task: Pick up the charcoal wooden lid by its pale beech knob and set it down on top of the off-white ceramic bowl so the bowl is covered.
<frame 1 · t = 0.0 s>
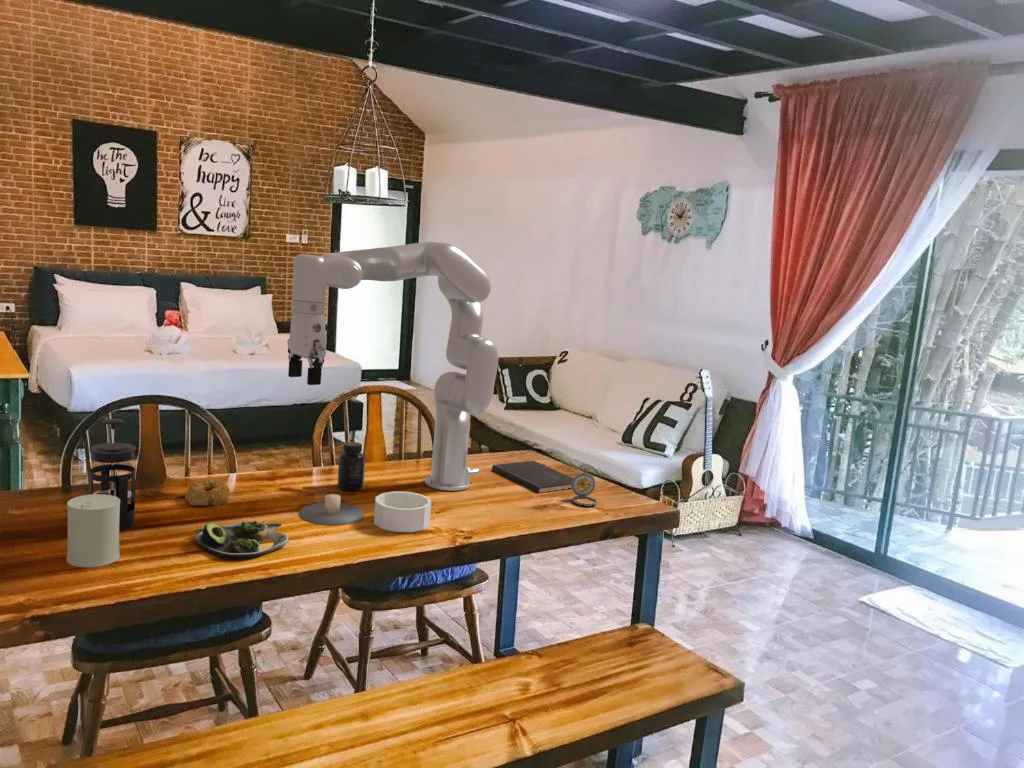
hand: (304, 380, 192), 31 cm above the table, fingers open, 9 cm apart
salad plate: (239, 546, 172), on the table
can: (93, 559, 158), on the table
pocket watch: (583, 502, 223), on the table
hardcover book: (535, 481, 241), on the table
supplement bottle: (350, 488, 216), on the table
lid: (331, 515, 195), on the table
bagel: (207, 501, 196), on the table
bowl: (401, 522, 194), on the table
french press: (112, 524, 176), on the table
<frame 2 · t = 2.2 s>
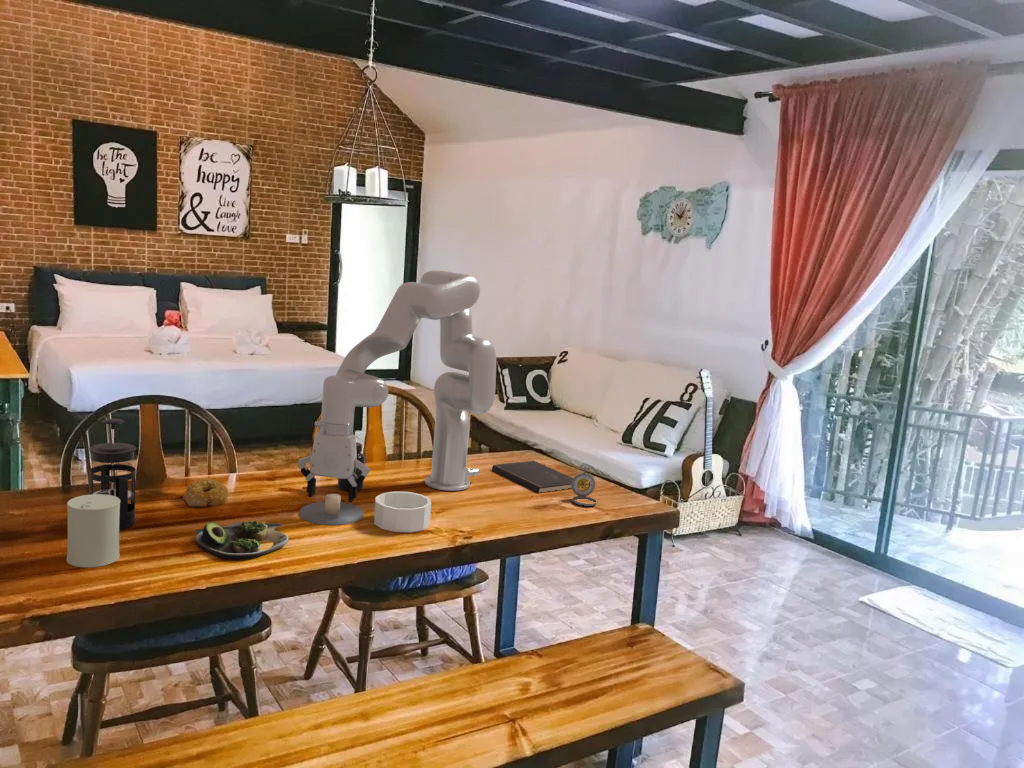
hand: (331, 498, 194), 4 cm above the table, fingers open, 9 cm apart
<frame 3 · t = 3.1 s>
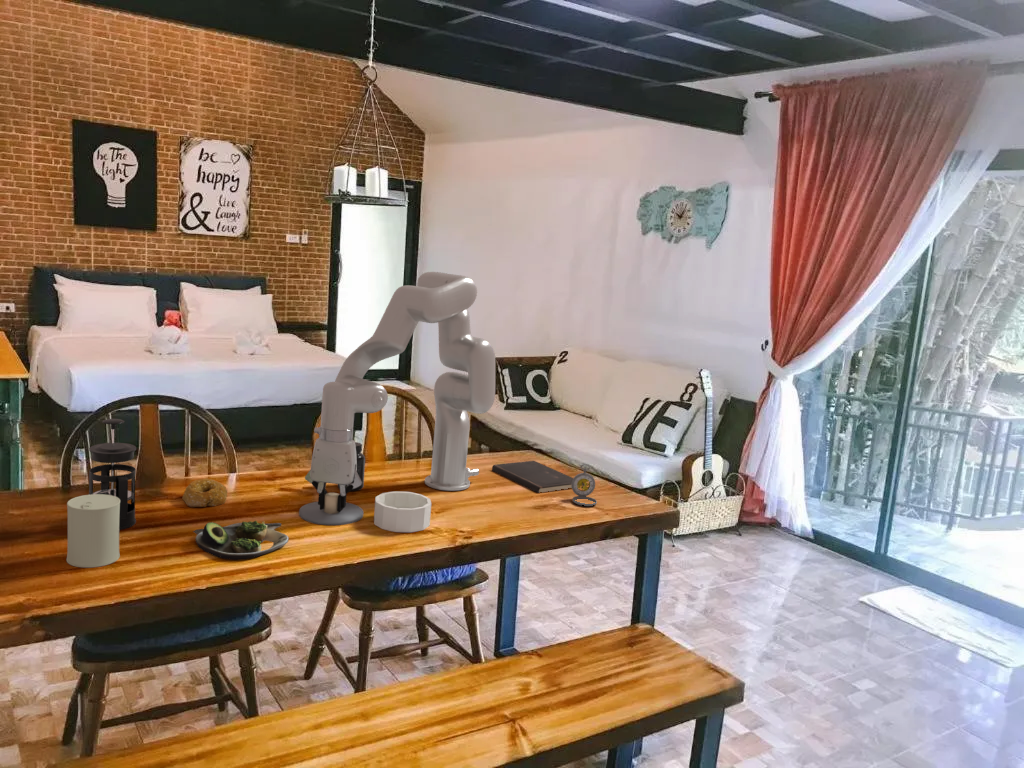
hand: (331, 508, 194), 1 cm above the table, fingers closed on lid, 3 cm apart
lid: (331, 514, 195), on the table, touching gripper
everything else where it was.
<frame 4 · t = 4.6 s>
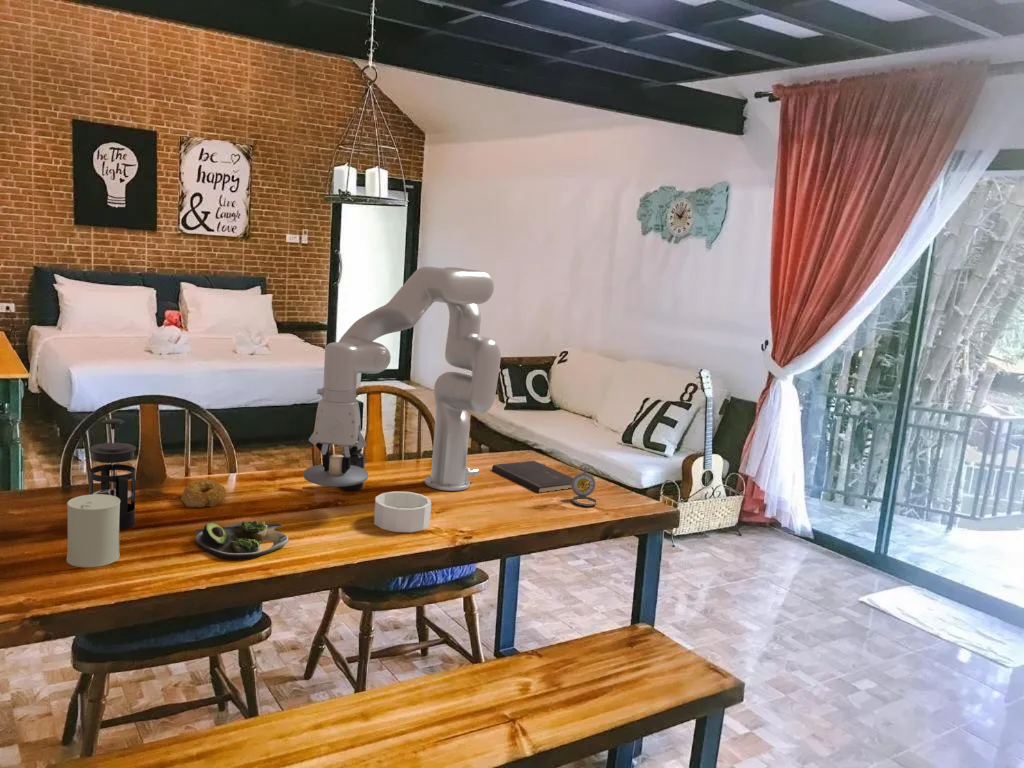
hand: (336, 470, 193), 11 cm above the table, fingers closed on lid, 3 cm apart
lid: (336, 476, 193), point 9 cm above the table, touching gripper
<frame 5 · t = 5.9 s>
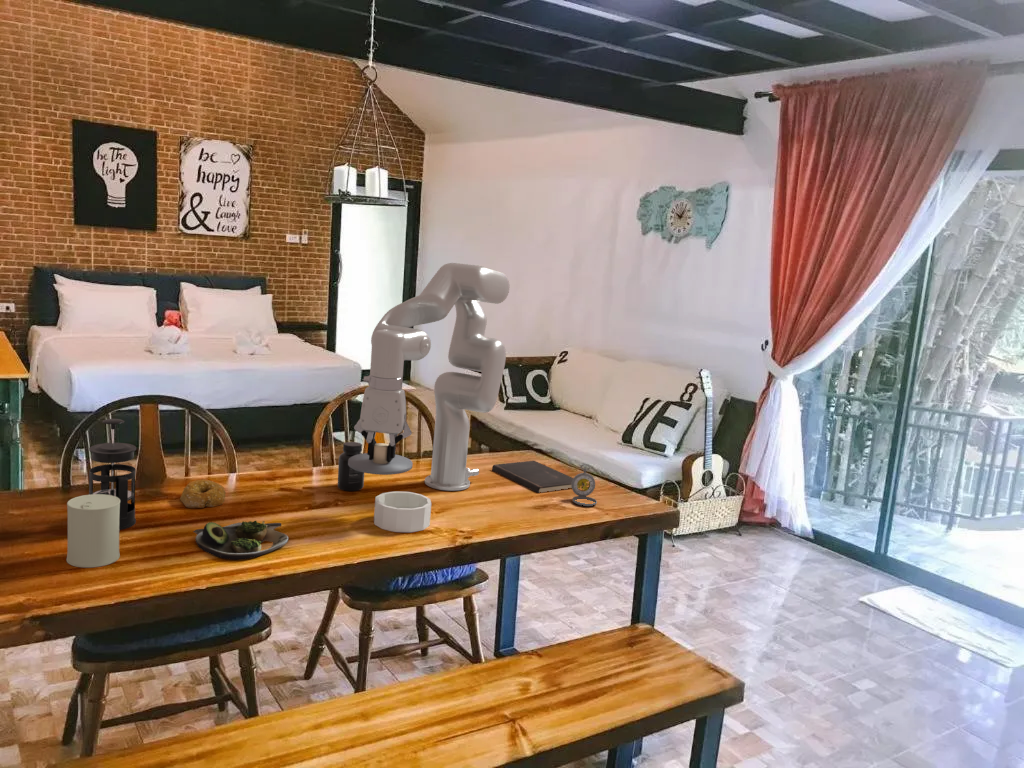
hand: (381, 458, 192), 15 cm above the table, fingers closed on lid, 3 cm apart
lid: (380, 464, 192), point 13 cm above the table, touching gripper
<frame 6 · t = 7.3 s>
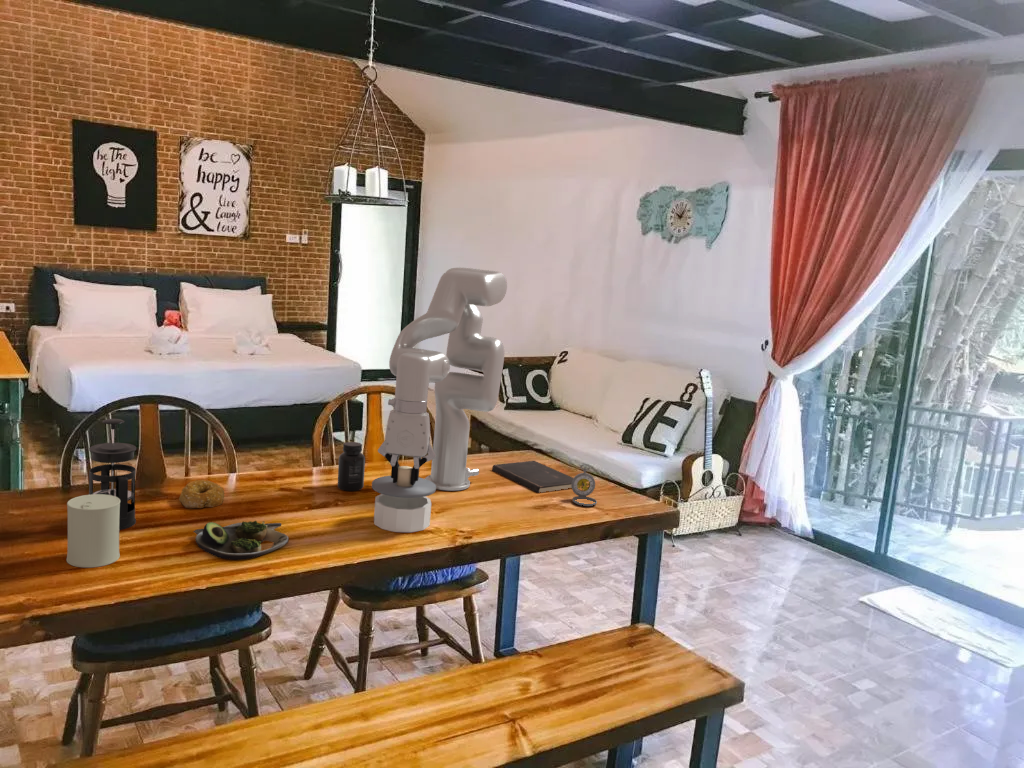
hand: (404, 481, 192), 10 cm above the table, fingers closed on lid, 3 cm apart
lid: (403, 487, 192), point 9 cm above the table, touching gripper
when the fingers open (8 cm above the table, at t = 7.9 s): lid drops 1 cm, resting on bowl.
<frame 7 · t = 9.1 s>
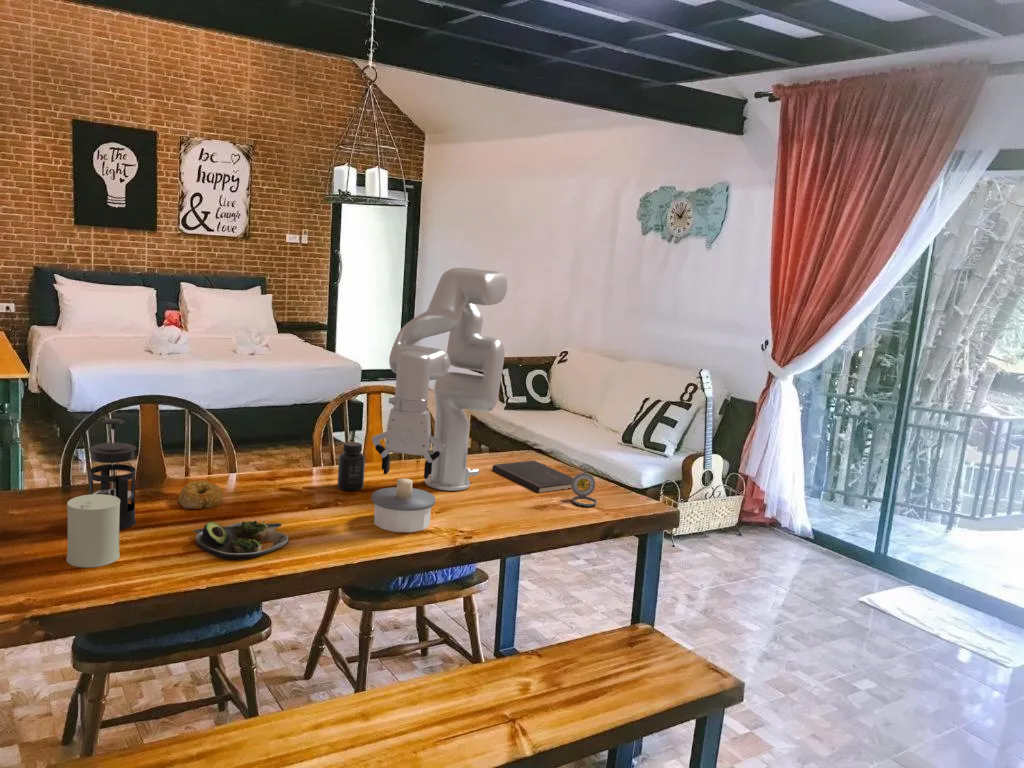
hand: (406, 474, 192), 12 cm above the table, fingers open, 9 cm apart
lid: (403, 500, 193), point 5 cm above the table, touching bowl
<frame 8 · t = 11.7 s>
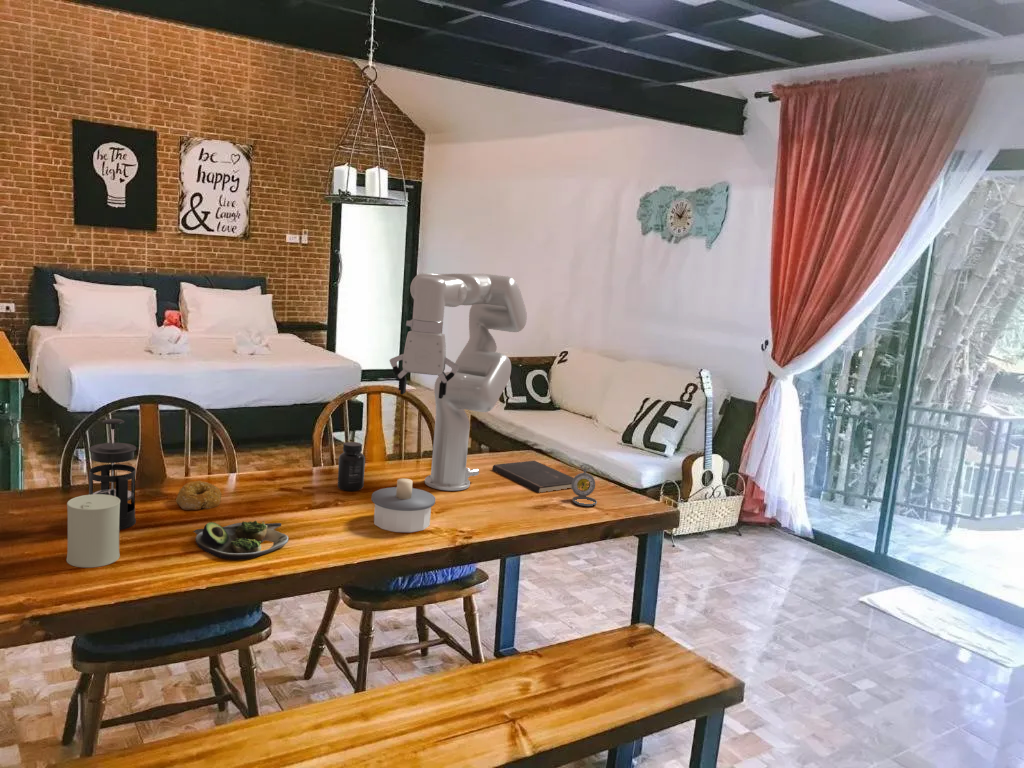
hand: (421, 395, 203), 28 cm above the table, fingers open, 9 cm apart
at the end: lid 0.0 cm off-centre on the bowl, point 5.5 cm above the bowl's base; lid tilted 0°; the gripper is holding nothing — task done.
